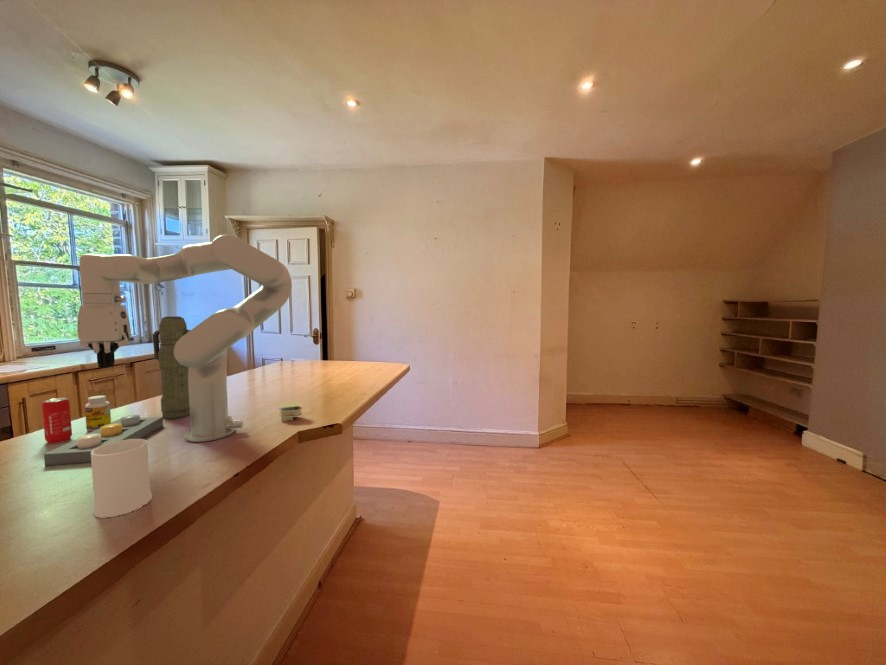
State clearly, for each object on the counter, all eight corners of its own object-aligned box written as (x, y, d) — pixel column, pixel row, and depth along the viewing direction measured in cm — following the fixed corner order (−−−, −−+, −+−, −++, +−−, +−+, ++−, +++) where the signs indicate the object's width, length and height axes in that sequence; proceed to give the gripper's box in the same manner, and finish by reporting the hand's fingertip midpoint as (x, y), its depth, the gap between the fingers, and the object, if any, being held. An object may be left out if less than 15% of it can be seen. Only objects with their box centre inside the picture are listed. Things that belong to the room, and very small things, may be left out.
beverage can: (54, 445, 96) (50, 402, 95) (40, 443, 97) (36, 401, 96) (77, 438, 101) (74, 398, 100) (63, 436, 102) (60, 396, 101)
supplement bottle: (81, 432, 105) (79, 399, 104) (95, 426, 111) (93, 395, 110) (103, 431, 107) (101, 398, 106) (115, 425, 112) (113, 394, 111)
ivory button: (106, 445, 92) (105, 432, 92) (93, 452, 88) (92, 439, 88) (86, 446, 91) (85, 434, 91) (72, 453, 87) (71, 440, 87)
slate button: (143, 424, 108) (143, 414, 108) (134, 429, 104) (133, 418, 103) (127, 425, 107) (126, 415, 107) (117, 430, 103) (116, 419, 102)
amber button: (126, 434, 100) (125, 422, 100) (115, 440, 96) (114, 428, 96) (108, 435, 99) (107, 423, 99) (96, 441, 95) (96, 429, 95)
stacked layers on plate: (275, 426, 113) (275, 410, 112) (274, 418, 121) (273, 403, 120) (308, 421, 118) (307, 406, 117) (304, 414, 126) (304, 399, 125)
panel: (163, 425, 112) (162, 416, 111) (103, 461, 86) (102, 450, 86) (119, 428, 109) (118, 419, 109) (44, 466, 84) (43, 454, 83)
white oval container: (108, 492, 73) (104, 437, 72) (159, 482, 77) (156, 430, 76) (85, 523, 62) (80, 459, 61) (146, 510, 67) (142, 450, 66)
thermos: (163, 413, 124) (157, 316, 121) (201, 410, 128) (196, 316, 125) (151, 421, 116) (145, 317, 113) (192, 417, 120) (187, 317, 117)
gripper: (142, 301, 99) (146, 363, 101) (80, 300, 96) (84, 365, 98) (124, 300, 92) (128, 368, 94) (56, 300, 89) (62, 370, 90)
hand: (106, 366), depth 96 cm, fingers closed
